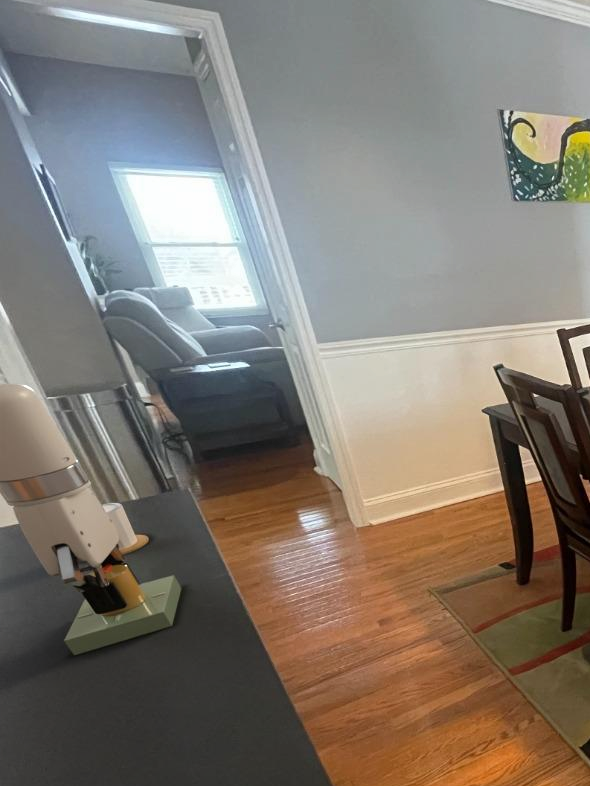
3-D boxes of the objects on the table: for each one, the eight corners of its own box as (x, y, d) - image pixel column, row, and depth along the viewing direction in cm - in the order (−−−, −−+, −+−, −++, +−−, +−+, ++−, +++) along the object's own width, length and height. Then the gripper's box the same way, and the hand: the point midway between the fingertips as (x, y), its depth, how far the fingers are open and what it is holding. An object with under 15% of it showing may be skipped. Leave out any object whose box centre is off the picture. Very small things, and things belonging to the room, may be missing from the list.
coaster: (79, 566, 100) (77, 564, 100) (90, 546, 106) (89, 544, 106) (144, 549, 104) (143, 547, 104) (152, 532, 111) (151, 530, 110)
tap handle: (140, 608, 84) (119, 575, 81) (92, 619, 82) (70, 586, 79) (151, 590, 88) (131, 559, 85) (106, 601, 86) (84, 569, 83)
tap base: (74, 655, 79) (62, 639, 78) (94, 612, 88) (84, 598, 86) (172, 626, 84) (162, 610, 83) (181, 588, 93) (173, 574, 91)
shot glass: (103, 559, 101) (80, 523, 98) (80, 553, 103) (57, 517, 100) (150, 539, 107) (130, 505, 104) (127, 534, 109) (107, 500, 106)
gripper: (33, 468, 81) (105, 579, 89) (-33, 516, 68) (59, 642, 76) (106, 456, 84) (169, 565, 92) (57, 500, 71) (136, 622, 79)
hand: (118, 598), depth 84 cm, fingers closed on tap handle, 5 cm apart
